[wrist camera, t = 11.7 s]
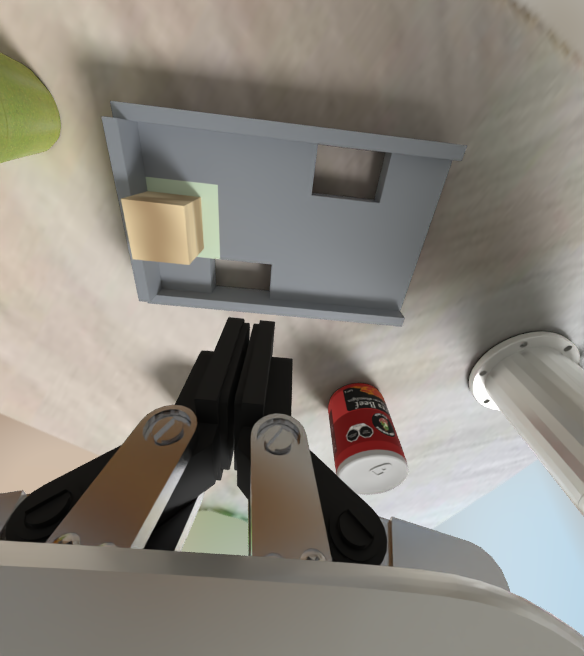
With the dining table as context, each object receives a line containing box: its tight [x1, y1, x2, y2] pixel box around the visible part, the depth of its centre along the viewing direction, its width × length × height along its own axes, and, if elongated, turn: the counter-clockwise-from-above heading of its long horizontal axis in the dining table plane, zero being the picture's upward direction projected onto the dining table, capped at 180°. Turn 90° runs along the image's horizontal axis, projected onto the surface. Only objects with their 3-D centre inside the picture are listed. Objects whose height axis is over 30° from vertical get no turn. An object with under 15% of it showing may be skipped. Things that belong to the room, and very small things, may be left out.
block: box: [121, 191, 204, 265], centre depth 24 cm, size 4×4×4 cm
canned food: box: [328, 383, 409, 495], centre depth 36 cm, size 8×8×11 cm
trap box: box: [101, 101, 467, 327], centre depth 26 cm, size 26×16×5 cm, turn 84°
